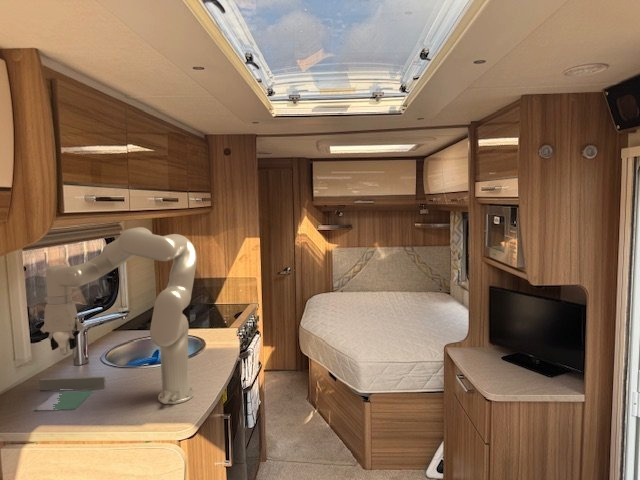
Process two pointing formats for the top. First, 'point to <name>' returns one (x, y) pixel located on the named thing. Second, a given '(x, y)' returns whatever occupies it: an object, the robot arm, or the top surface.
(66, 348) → the lightbulb
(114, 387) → the top surface
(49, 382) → the low wall
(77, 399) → the mat
